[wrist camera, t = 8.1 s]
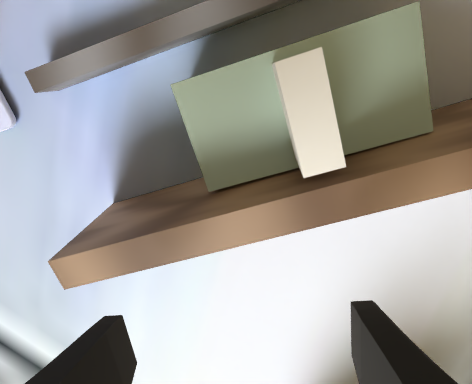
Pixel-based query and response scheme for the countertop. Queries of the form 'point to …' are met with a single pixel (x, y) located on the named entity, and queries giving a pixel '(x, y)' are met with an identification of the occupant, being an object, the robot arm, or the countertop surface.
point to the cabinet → (310, 101)
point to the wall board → (251, 192)
